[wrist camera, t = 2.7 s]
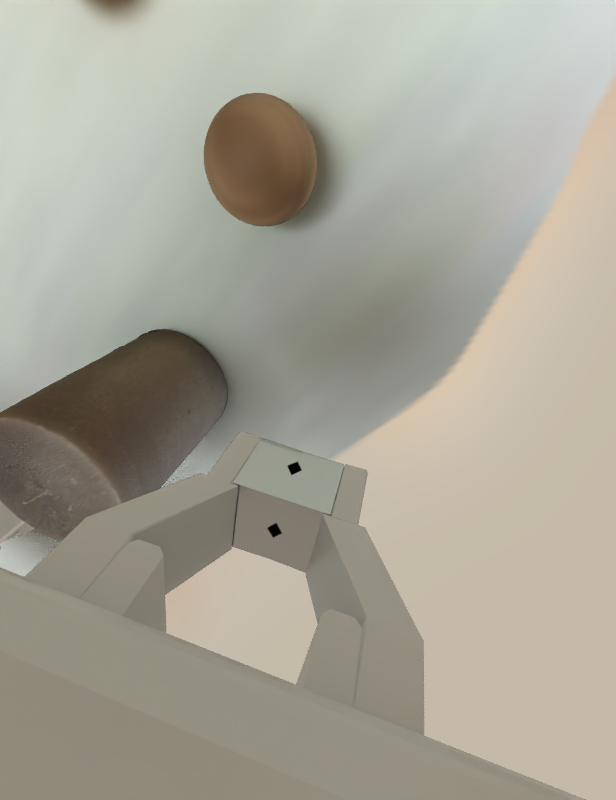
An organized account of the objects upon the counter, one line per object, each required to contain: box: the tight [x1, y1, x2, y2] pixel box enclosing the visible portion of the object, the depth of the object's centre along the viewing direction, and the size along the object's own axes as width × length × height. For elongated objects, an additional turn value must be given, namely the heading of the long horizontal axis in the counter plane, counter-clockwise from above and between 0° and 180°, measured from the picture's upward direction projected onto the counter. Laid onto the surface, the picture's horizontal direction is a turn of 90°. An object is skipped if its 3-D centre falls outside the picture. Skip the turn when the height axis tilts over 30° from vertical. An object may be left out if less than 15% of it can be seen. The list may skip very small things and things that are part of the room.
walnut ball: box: [204, 93, 317, 226], centre depth 20 cm, size 6×6×6 cm
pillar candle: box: [0, 330, 227, 541], centre depth 26 cm, size 10×10×15 cm
